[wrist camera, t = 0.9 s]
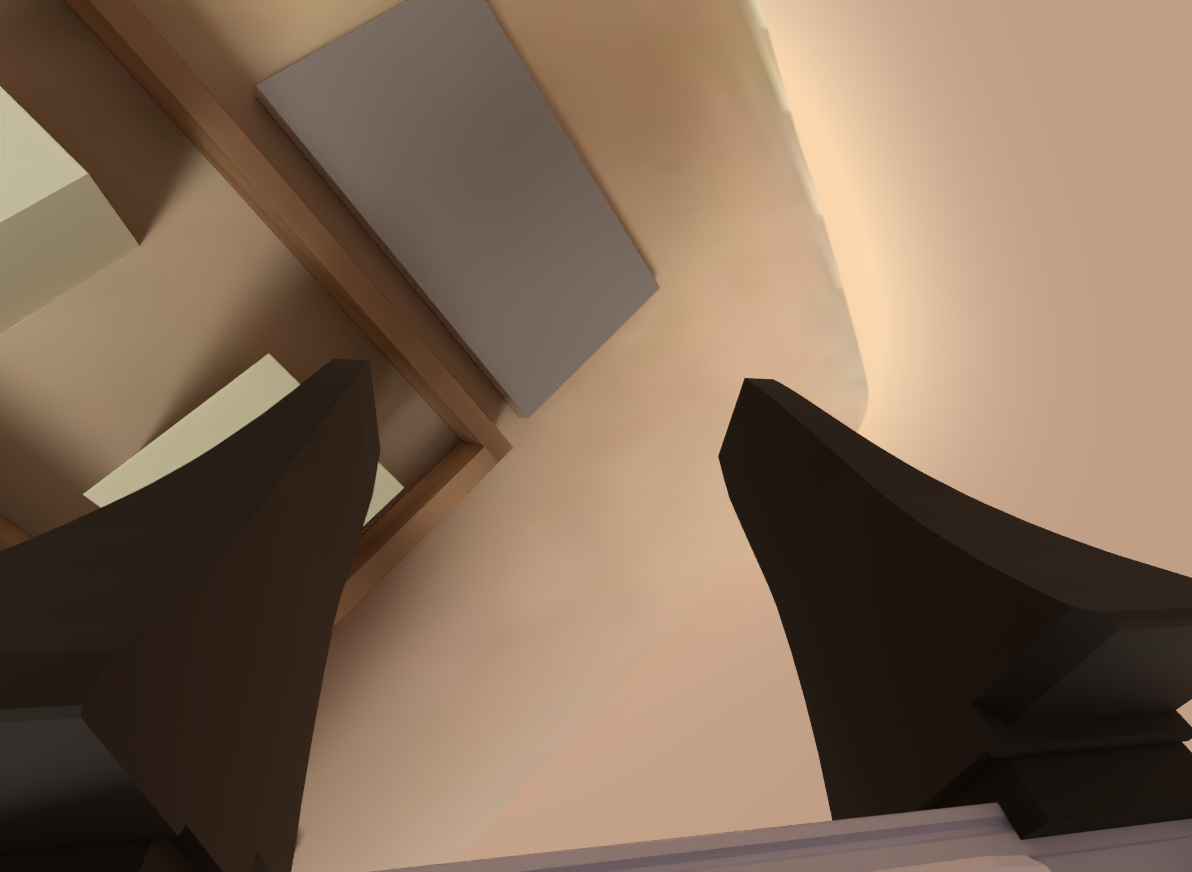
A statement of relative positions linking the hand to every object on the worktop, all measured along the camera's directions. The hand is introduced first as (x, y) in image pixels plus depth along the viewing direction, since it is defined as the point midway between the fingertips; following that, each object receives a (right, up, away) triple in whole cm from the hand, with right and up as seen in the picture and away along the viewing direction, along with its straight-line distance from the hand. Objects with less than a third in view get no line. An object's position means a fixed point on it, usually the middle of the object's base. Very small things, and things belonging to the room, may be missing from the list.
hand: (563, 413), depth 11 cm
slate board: (-4, +9, +12) cm, 15 cm away
